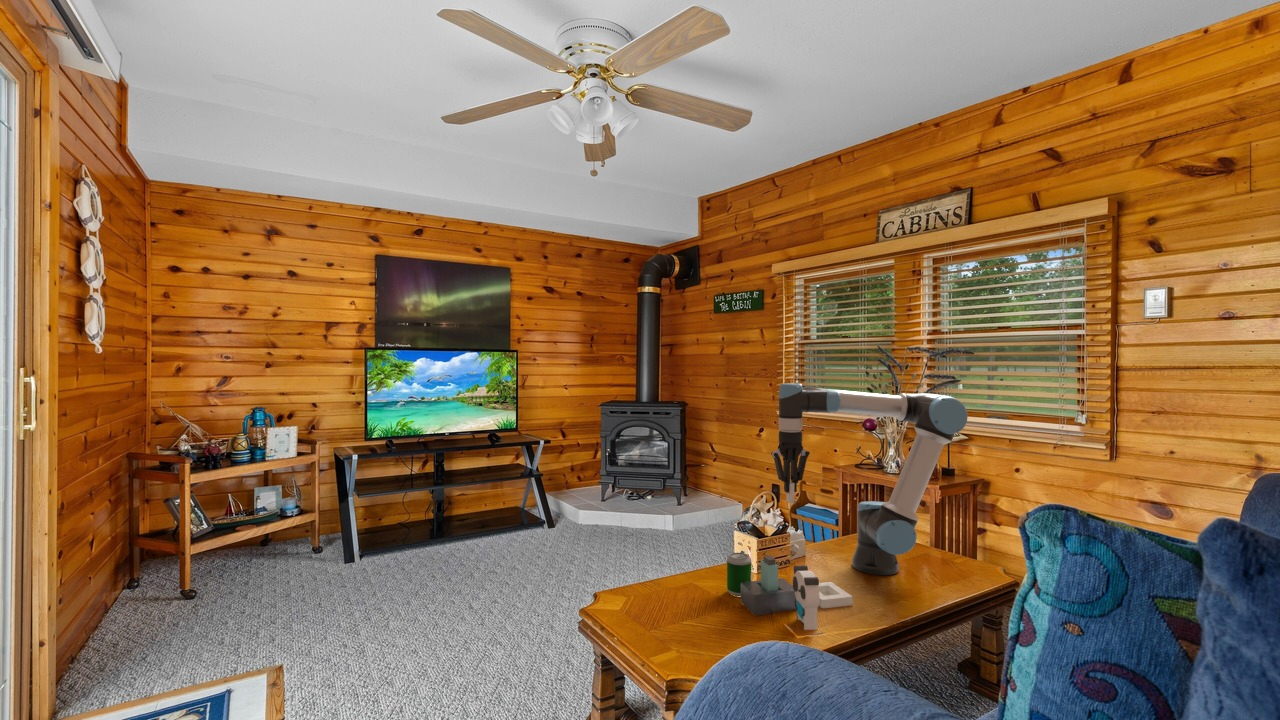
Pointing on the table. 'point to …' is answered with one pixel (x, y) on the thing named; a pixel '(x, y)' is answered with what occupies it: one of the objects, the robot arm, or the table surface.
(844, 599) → the white flat block
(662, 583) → the table surface
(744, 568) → the soda can
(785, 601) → the block
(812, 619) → the panda figurine
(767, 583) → the plug
